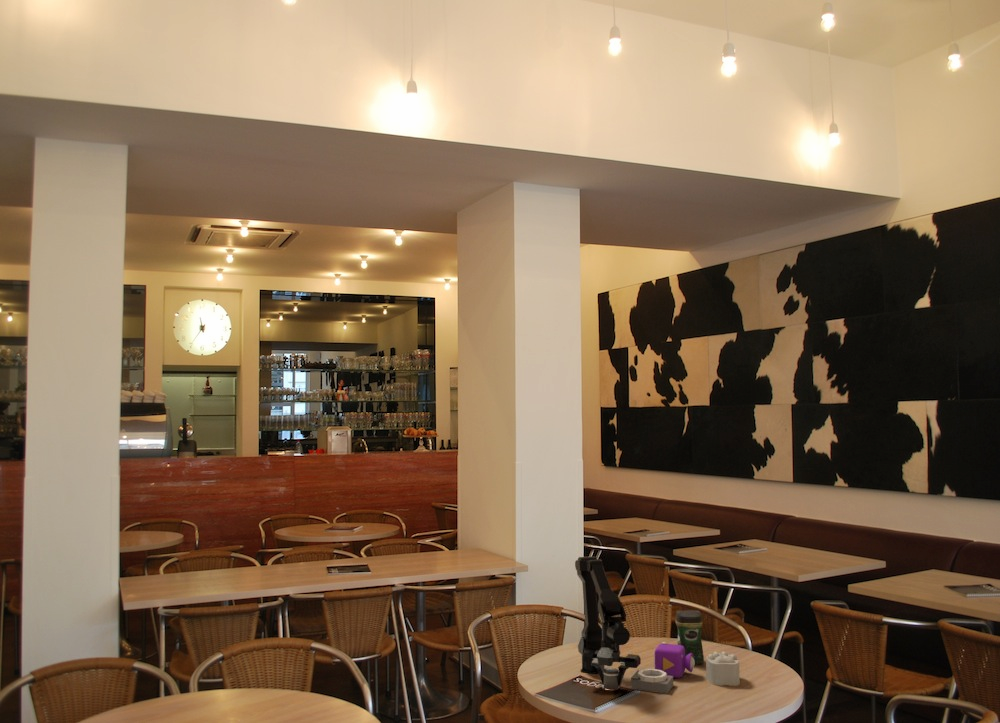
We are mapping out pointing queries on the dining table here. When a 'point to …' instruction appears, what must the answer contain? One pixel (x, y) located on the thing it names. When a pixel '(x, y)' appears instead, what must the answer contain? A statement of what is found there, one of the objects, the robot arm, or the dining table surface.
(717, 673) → the lumpy-topped squat cylinder
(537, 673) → the dining table surface
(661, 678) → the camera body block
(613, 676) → the lens
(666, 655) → the toy camera
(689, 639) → the coffee jar
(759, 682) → the dining table surface
